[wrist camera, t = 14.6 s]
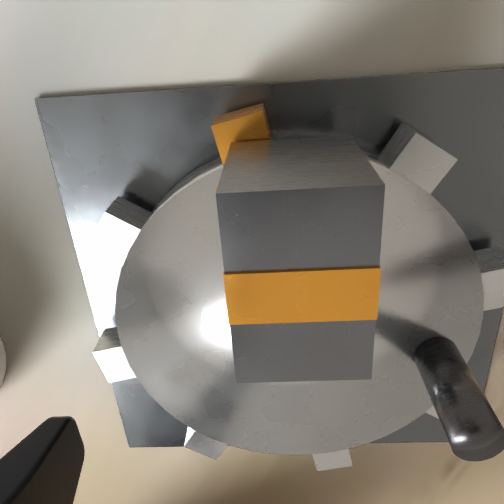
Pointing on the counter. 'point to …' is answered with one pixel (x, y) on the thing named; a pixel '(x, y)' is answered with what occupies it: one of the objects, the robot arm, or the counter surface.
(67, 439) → the robot arm
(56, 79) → the counter surface
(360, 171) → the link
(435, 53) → the counter surface
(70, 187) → the cover plate
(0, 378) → the engine component
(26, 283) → the counter surface
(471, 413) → the sprocket
